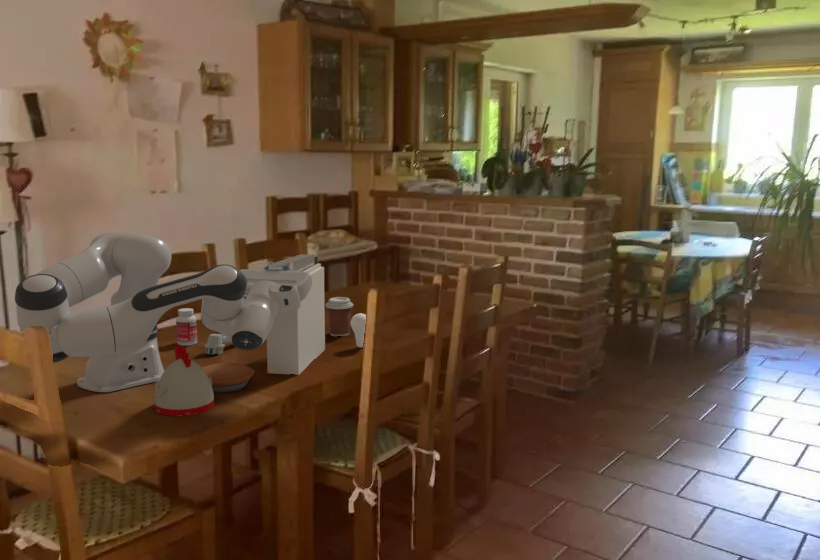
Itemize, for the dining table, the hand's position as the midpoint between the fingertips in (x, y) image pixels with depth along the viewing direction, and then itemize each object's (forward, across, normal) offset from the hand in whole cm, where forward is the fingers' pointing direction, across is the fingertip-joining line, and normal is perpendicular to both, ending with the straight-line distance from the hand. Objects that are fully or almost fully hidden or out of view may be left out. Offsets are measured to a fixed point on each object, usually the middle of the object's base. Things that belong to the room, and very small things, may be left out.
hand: (280, 264), depth 199 cm
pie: (-26, -12, -21) cm, 36 cm away
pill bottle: (+5, -40, -39) cm, 56 cm away
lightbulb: (+11, +15, -42) cm, 46 cm away
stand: (-4, 0, -33) cm, 33 cm away
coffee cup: (+24, +4, -49) cm, 55 cm away
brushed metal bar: (+6, 0, -8) cm, 11 cm away
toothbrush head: (+6, -24, -39) cm, 47 cm away
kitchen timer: (-40, -15, -13) cm, 45 cm away
